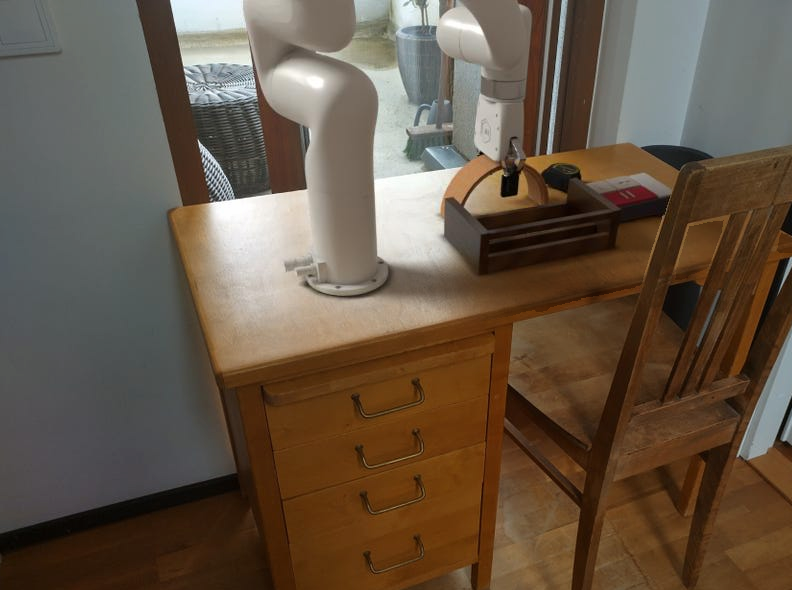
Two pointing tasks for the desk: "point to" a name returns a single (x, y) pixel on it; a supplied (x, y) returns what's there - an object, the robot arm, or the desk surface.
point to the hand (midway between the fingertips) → (496, 185)
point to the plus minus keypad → (635, 195)
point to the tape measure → (560, 175)
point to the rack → (533, 230)
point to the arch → (482, 169)
